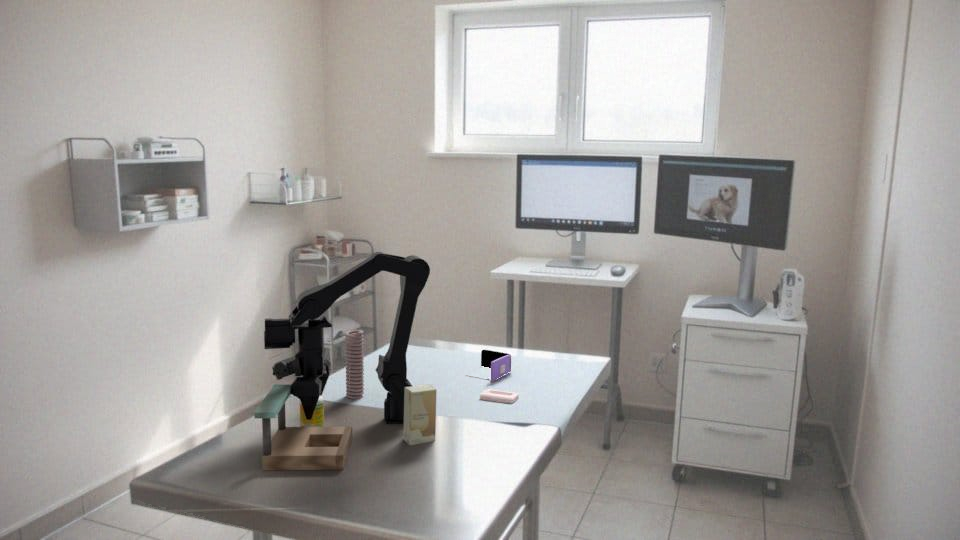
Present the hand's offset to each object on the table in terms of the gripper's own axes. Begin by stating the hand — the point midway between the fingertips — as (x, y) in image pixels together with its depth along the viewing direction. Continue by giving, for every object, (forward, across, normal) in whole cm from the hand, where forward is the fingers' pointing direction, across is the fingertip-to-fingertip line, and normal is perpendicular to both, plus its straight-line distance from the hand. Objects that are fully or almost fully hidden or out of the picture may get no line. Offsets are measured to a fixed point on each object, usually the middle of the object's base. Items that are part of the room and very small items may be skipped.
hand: (312, 412), depth 169 cm
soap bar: (+4, -19, +45) cm, 49 cm away
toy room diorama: (+4, -40, +43) cm, 59 cm away
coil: (+4, -22, +7) cm, 24 cm away
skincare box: (+4, +8, +25) cm, 27 cm away
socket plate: (+4, +15, +2) cm, 16 cm away
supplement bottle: (+4, 0, 0) cm, 4 cm away
